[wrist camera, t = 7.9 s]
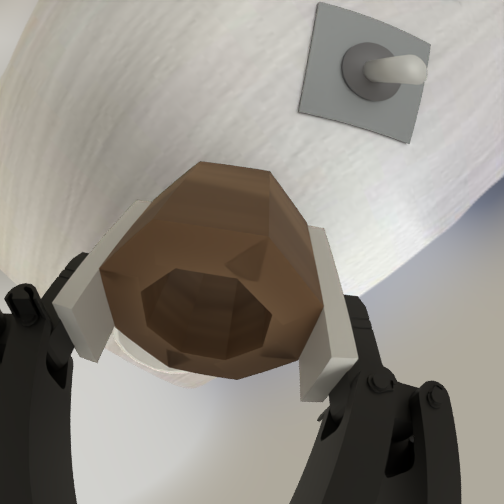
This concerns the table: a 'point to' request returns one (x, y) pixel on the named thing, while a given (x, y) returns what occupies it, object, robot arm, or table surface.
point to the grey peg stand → (364, 73)
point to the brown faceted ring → (217, 275)
